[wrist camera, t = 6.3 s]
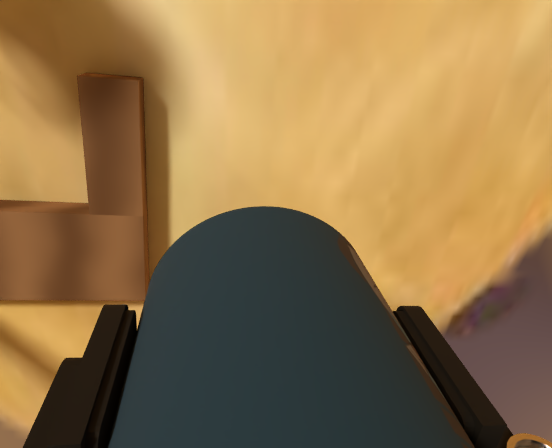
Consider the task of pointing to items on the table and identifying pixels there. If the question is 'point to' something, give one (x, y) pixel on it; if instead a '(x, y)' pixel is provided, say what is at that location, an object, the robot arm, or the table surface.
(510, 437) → the robot arm
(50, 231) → the u-shaped wooden block
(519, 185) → the table surface
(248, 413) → the soda can
